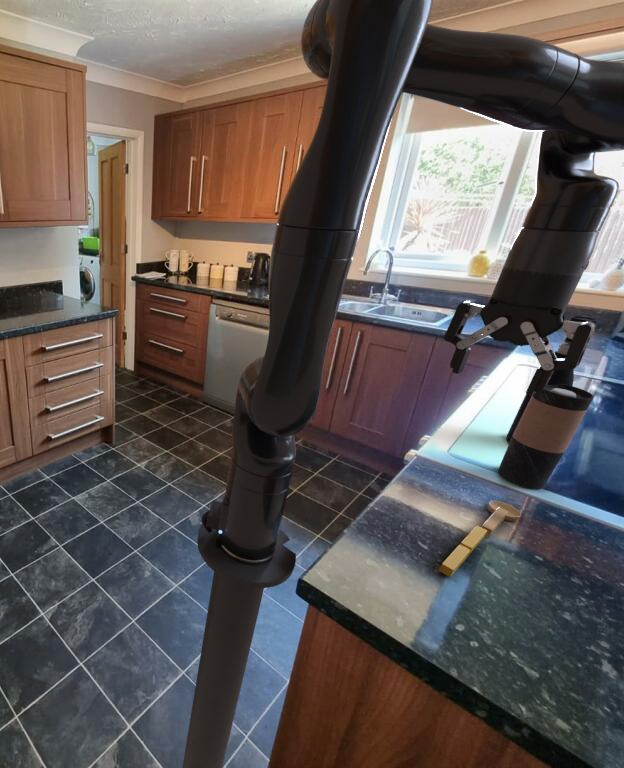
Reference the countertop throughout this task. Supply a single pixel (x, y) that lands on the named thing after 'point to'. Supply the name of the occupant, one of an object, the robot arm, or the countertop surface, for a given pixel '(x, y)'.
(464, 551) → the bar
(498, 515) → the spoon
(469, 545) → the bar
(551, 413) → the travel mug
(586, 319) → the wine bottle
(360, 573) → the countertop surface
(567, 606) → the countertop surface
